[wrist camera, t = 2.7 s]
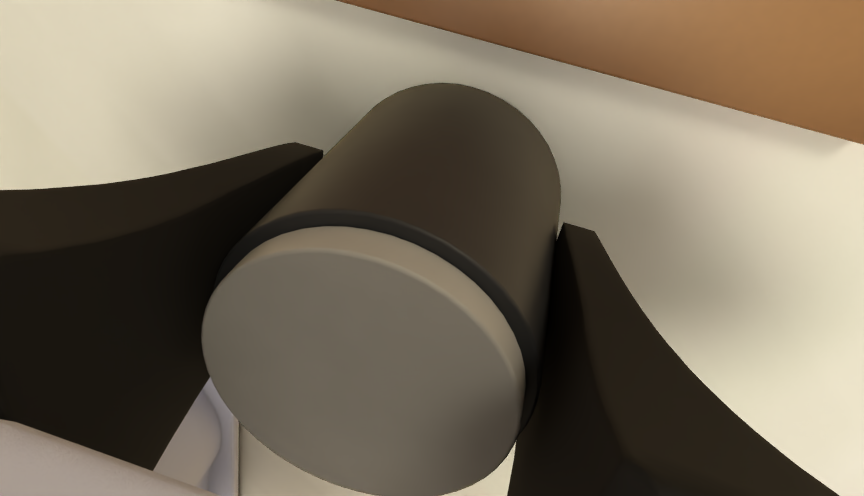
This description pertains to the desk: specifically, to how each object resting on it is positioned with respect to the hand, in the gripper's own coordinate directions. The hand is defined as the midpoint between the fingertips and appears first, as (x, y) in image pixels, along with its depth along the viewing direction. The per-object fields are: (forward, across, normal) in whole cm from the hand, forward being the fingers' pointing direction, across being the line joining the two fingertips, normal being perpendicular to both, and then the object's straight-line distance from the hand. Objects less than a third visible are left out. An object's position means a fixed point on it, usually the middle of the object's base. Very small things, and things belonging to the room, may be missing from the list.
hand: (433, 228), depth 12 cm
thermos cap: (+2, 0, 0) cm, 2 cm away
